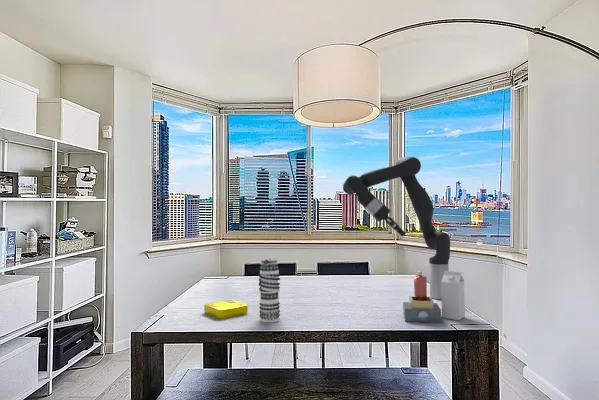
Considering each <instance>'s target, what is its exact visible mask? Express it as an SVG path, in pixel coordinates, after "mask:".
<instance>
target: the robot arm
mask: <svg viewBox="0 0 599 400" xmlns="http://www.w3.org/2000/svg"><path fill="white" fill-rule="evenodd" d="M421 168H422V163H421V161H420V159H418V157H415V156H402V157H399V158H398V159H397V160H396V163H395V164H394V165H390V166H386V167H382V168H377V169H372V170H369V171H367V172H364V173H362V174H361V175H360V176H357V175H355V174H353V175H349V176H347V178H346V180H345V181H344V183H343V184H342V189H343V192H344V193H345V194H347V195H354V194H355V195H356V196H357V201H358V203H359V204H360V205H361V206H362V207H363V208H364V209H365V210H366V212H367V213H369V214H370V215H371V216H372V217H373V219H375V220H376V221H377V222H378V223H381V222H382V221H383V220H384V221H385V224H386V225H387V226H389V228H391V229H393V230H394V231H395V232H397V233H398V234H399V235H400V236H401V237H404V236H405V235H406V234H407V233H406V232H405V231H404V230H403V228H401V227H400V225H399V224H398V222H397V221H396V220H395V218H393V217H392V216H389V214H390V213H391V209H390V208H388V207H387V206H386V205H385V204H384V203H383V202H382V201H381V200H380V199H379V198H378V197H377V196H375V195H374V193H372V192H371V191H370V190H369V189H368V188H370V187H373V186H376V185H377V186H378V185H379V184H382V183H385V182H388V181H391V180H394V179H398V178H400V180H401V181H402V183H403V186H404V187H405V190H406V193H407V194H408V198H409V200H410V203H411V205H412V207H413V211H414V213H415V215H416V217H417V220H418V223H419V226H420V228H421V232H422V235H423V240H424V242H425V245H426V246H427V248H428V249H430V250H434V251H435V255H434V256H431V257H429V260H428V262H429V263H428V264H429V268H428V269H429V297H431V298H432V299H434V300H442V292H441V281H442V278H443V275H444V271H450V268H449V260H450V257H451V238H450V235H449V234H448V233H447V232H445V231H443V232H442V231H436V229H435V227H434V225H433V216H434V205H433V202H432V199H431V197H430V195H429V193H428V192H427V190H426V188H424V187H423V186H422V185H421V184H420V182H419V181H418V178H417V176H416V175H417V174H418V173H419V172H420V171H421Z"/></svg>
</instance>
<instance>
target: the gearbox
mask: <svg viewBox="0 0 599 400" xmlns="http://www.w3.org/2000/svg"><path fill="white" fill-rule="evenodd" d="M402 315H403V320H404V322H409V323H410V322H411V323H433V324H434V323H436V324H440V323H442V308H440V306H439V304H438V303H437V302H434V300H433V298H431V297H430V296H427V301H418V300H414V295H413V296H411V295H410V296H409V301H408V302H405V301H403V302H402Z"/></svg>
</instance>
